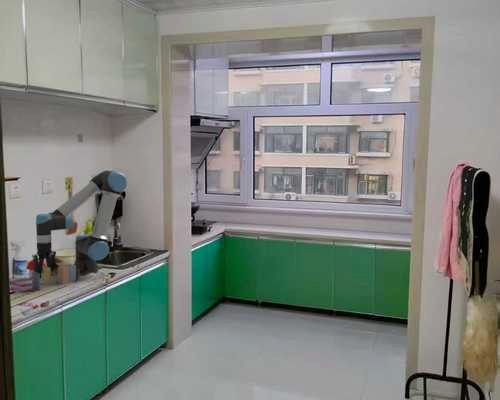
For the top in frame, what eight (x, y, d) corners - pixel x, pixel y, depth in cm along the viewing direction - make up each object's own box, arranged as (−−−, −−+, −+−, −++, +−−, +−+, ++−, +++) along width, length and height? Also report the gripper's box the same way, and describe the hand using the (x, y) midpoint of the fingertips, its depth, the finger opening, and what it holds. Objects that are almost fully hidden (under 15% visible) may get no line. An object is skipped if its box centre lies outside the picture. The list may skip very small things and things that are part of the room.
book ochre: (45, 281, 265) (45, 266, 264) (50, 283, 263) (50, 267, 262) (39, 283, 262) (38, 267, 261) (44, 285, 260) (44, 269, 258)
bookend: (34, 288, 250) (34, 271, 249) (39, 290, 247) (39, 273, 246) (28, 289, 247) (27, 273, 246) (33, 291, 244) (33, 274, 243)
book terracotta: (63, 281, 265) (63, 265, 264) (69, 282, 263) (69, 267, 262) (57, 282, 262) (57, 266, 261) (63, 284, 259) (63, 268, 259)
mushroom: (27, 276, 275) (26, 256, 274) (47, 275, 279) (47, 255, 278) (25, 281, 266) (25, 260, 264) (46, 280, 269) (46, 260, 268)
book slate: (70, 279, 269) (70, 264, 268) (76, 281, 267) (76, 265, 266) (64, 280, 266) (64, 265, 265) (70, 282, 263) (70, 266, 262)
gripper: (53, 238, 269) (54, 278, 272) (25, 243, 254) (26, 285, 257) (61, 240, 265) (62, 280, 268) (34, 245, 251) (35, 287, 253)
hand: (45, 282), depth 262 cm, fingers closed on book ochre, 4 cm apart
